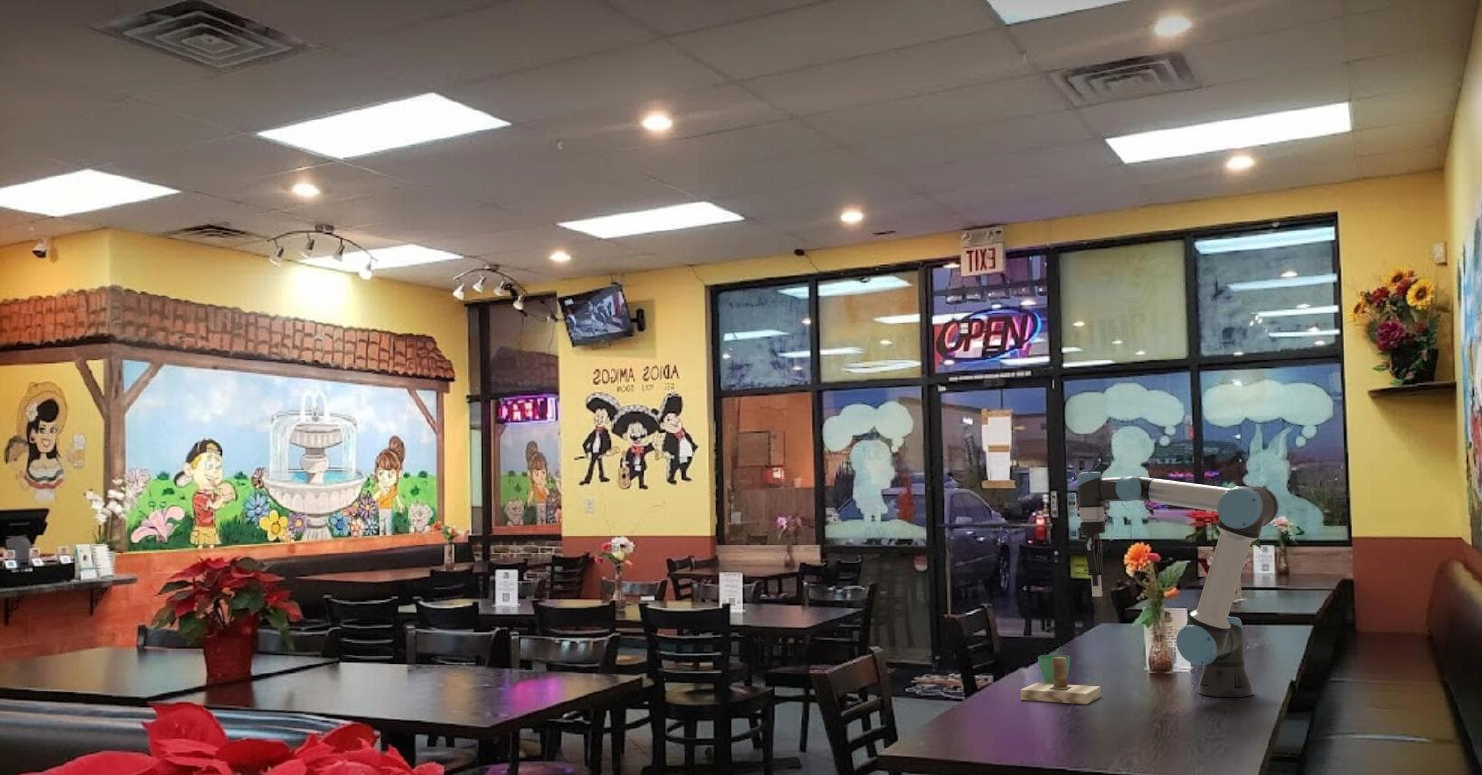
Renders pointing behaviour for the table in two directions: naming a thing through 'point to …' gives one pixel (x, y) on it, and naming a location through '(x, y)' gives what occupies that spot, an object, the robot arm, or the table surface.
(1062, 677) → the peg
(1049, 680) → the mug
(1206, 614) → the robot arm
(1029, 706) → the table surface
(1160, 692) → the table surface
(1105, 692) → the table surface
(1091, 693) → the board
